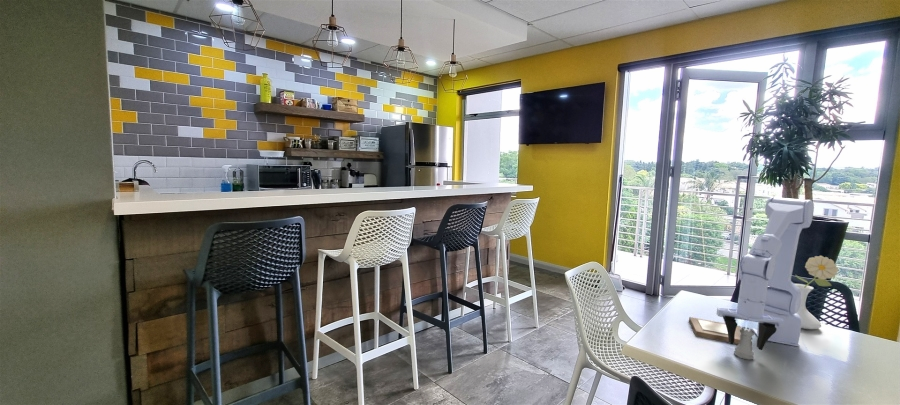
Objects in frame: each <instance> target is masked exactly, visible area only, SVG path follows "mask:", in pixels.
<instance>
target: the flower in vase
mask: <svg viewBox="0 0 900 405" xmlns="http://www.w3.org/2000/svg"><path fill="white" fill-rule="evenodd" d="M804 268H805V269H806V271H807V272H808V274H809V275H811V276H813V278H812V280H810V281H808V280H806V279H805V278H803V277H800V276H798V275H797V274H795V277H796V278H797V279H799V280H800V281H803V282H805V283H807V284H803V283H794V284H795V285H796V286H797V287H798V288H799V289H800V290H801V304H800V308H799V310H798V312H797V313H796V314H798V315H799V316H800V318H801V329H805V330H818V329H820V328H821V327H822V324H821V322H820V321H819V320H818V319H817V317H815V316H814V315H813V314H812V313H811V312H809V310H808V309H807V307H806V301H807V297H808V295H809V293H811V291H813V290H814V289H815V288H814V287H813V286H810V284H811V283H812V282H813V281H814V282H815V283H816V284H817V285H818V286H820V287H832V283H830V282H829V281H828V280H827V279H832V278H835V277H836V275H838V272H839V267H838V266H837V264H836V263H835V261H834V260H833V259H831V258H830V259H829V257H827V256H825V257H824V256H823V255H819V256H817V255H815V256H814V257H809V258H808V259H807V261H806V262H805V266H804Z"/></svg>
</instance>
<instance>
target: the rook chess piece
mask: <svg viewBox="0 0 900 405" xmlns="http://www.w3.org/2000/svg"><path fill="white" fill-rule="evenodd" d="M741 328H742V329H740V332H741V335H740V342H739V344H736V346H735V347H734V350H733V353H734V355H735V356H736V357H737V358H740V359H744V360H749V361H750V360H753V359H754V355H755V352H754V351H753V348H752V347H751V341H752V340H753V336H754V335H755V332H754V331H753V329H752V328H750V327H748V326H747V327H745V326H741Z"/></svg>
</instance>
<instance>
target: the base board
mask: <svg viewBox="0 0 900 405" xmlns="http://www.w3.org/2000/svg"><path fill="white" fill-rule="evenodd" d="M688 322H689V325H690V326H691V329H692V331H693V333H694V335H695V336H696V337H699V338H704V339H711V340H715V341H720V342H725V343H729V341H728V331H727V327H726V324H725V322H719V321H715V320H708V319H703V318H697V317H691V316H689V318H688ZM740 329H742V326H740V325H737V327H736V331H735V337H734V345H735V344H736V345H738V344H739V342H740V335H741V332H740ZM752 346H753V341H752V340H751V348H752Z"/></svg>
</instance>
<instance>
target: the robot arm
mask: <svg viewBox="0 0 900 405" xmlns="http://www.w3.org/2000/svg"><path fill="white" fill-rule="evenodd" d="M764 208H765V209H764V211H765V215H766V218H767V219H768V221H767V224H766V227H765V230H764V232H763V234H760V235H758V236H756V238H755V240H754V241H753V243H752V246H751V247H750V250H749V251H748V253H747V254H745V255H742V257H741V259H740V261H739V265H738V271H739V277H738V278H739V281H740V284H739V292H738V299H737V307H736V308H724V307H716V315H717V317H721V318H722V319H723V321H724V323H725V324H726V327H727V331H728V341H729V342H728V343H729V344H730V345H735V343H734V337H735V331H736V327H737V326H738V322H737V320H741V321H746V322H747V321H749V322H754V323H757V328H754V327H752V328H751V329H753V333H754V335H756V336H757V339H756V348H757V349H758V350H759V351H762V350H763V349H764V347H765V345H766V343H767V342H774V343H777V344H783V345H784V344H785V345H789V346H795V347H800V344H799V342H800V336H801V329H802V328H801V318H800V316H799V315H798V314H796V313H797V312H798V310H799V308H800V304H801V290H800V289H799V288H798V287H797V286H796V285H795V284H796V283H794V282H793V281H792V275H793V270H794V265H795V259H796V255H797V254H796V253H797V249H798V245H799V239H800V234H801V233H802V230H803V229H808V228H810V226H811V224H812V222H813V216H814V211H815V210H814V209H815V204H814V202H813V200H812V199H802V198H801V199H799V198H789V197H786V198H785V197H777V196H770V197H769V198H767V201H766V203H765V207H764ZM736 319H737V320H736Z"/></svg>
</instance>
